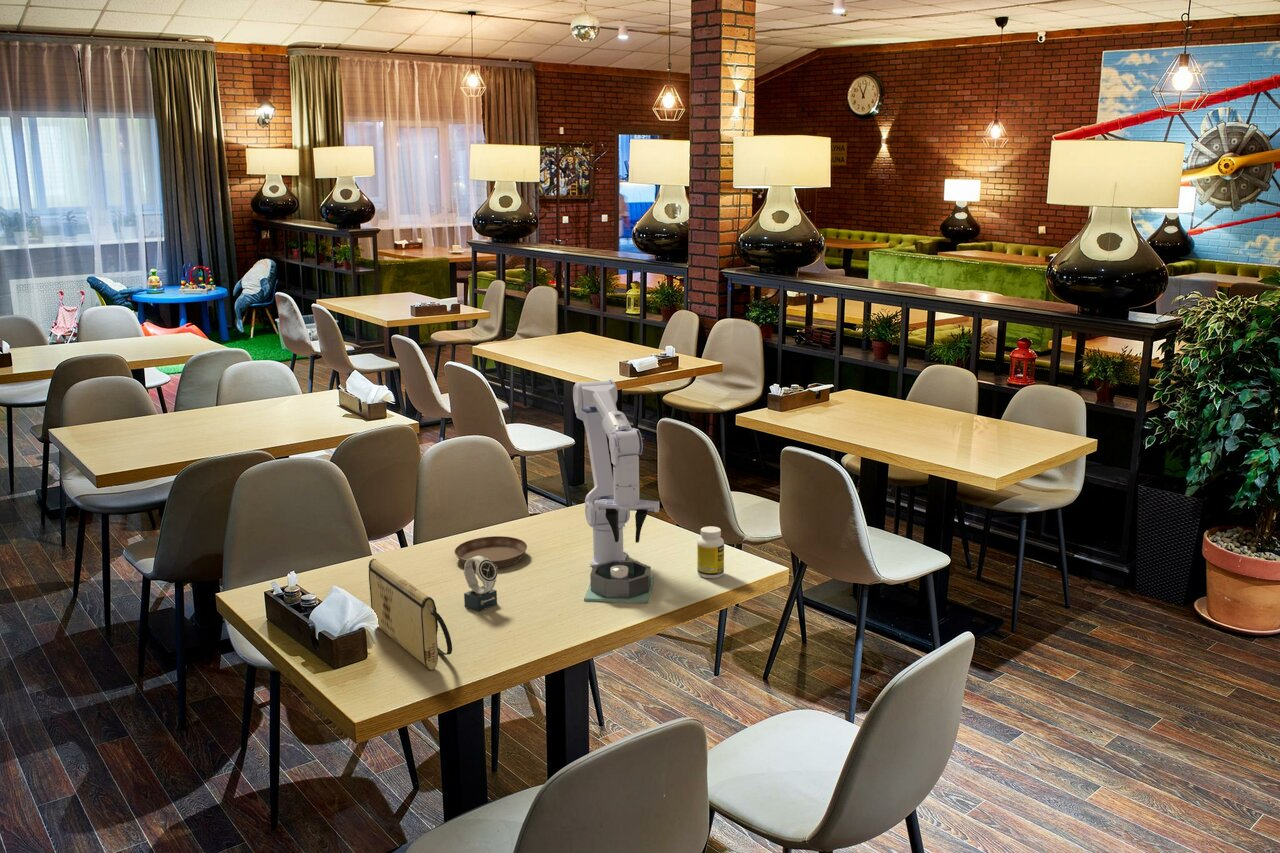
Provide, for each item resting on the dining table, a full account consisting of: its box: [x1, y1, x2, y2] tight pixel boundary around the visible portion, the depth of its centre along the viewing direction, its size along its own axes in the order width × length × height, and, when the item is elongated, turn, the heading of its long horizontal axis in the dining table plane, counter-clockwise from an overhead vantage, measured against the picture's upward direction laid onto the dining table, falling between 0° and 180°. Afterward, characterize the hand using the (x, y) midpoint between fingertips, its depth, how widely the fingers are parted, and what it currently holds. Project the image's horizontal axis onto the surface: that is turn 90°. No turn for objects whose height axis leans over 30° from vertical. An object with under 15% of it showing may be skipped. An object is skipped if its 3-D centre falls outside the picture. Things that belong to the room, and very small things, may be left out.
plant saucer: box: [453, 535, 528, 569], centre depth 260 cm, size 18×18×3 cm
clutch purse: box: [368, 558, 453, 671], centre depth 211 cm, size 30×7×15 cm, turn 36°
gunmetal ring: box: [589, 559, 652, 599], centre depth 238 cm, size 13×13×4 cm
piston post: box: [610, 565, 628, 580], centre depth 238 cm, size 4×4×4 cm
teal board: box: [583, 576, 655, 603], centre depth 239 cm, size 14×14×1 cm
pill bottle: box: [696, 525, 725, 579], centre depth 246 cm, size 6×6×11 cm
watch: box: [463, 556, 499, 612], centre depth 230 cm, size 6×8×11 cm
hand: (627, 540), depth 240 cm, fingers open, 4 cm apart
